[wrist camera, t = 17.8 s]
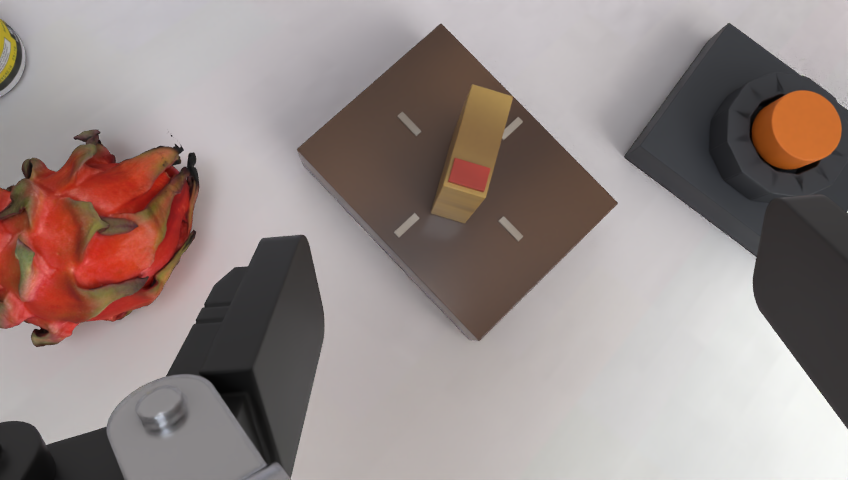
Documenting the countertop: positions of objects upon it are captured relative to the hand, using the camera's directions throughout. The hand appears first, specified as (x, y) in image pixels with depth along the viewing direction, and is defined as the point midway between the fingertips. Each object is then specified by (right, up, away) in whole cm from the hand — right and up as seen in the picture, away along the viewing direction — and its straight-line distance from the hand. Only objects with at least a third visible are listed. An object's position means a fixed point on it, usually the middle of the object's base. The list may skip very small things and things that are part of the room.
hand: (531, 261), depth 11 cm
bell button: (+17, +6, +21) cm, 28 cm away
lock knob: (0, +4, +20) cm, 21 cm away
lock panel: (0, +3, +23) cm, 24 cm away
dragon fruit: (-18, 0, +22) cm, 28 cm away
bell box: (+16, +5, +25) cm, 30 cm away
